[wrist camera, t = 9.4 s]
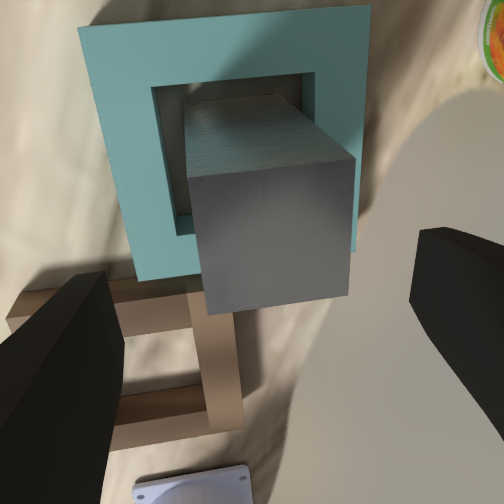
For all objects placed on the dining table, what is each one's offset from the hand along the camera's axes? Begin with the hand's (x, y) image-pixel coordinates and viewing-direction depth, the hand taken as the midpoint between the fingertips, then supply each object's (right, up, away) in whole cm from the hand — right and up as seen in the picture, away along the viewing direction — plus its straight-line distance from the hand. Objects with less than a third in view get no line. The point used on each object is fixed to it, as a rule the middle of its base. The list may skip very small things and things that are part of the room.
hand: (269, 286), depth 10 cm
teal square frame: (-1, +5, +9) cm, 10 cm away
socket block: (-6, -5, +14) cm, 16 cm away
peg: (-1, +5, +9) cm, 10 cm away
